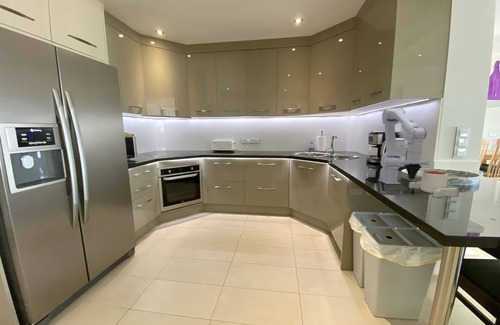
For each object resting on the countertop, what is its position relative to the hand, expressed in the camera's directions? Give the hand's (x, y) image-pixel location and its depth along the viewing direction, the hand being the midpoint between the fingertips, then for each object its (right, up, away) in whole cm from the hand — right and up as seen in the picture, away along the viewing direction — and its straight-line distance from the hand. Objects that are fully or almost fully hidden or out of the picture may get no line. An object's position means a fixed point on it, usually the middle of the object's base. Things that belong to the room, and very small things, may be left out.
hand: (411, 178), depth 110 cm
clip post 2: (+7, -8, -7) cm, 13 cm away
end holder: (+13, -7, +1) cm, 15 cm away
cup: (+12, -7, +1) cm, 14 cm away
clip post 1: (+7, -6, +9) cm, 13 cm away
